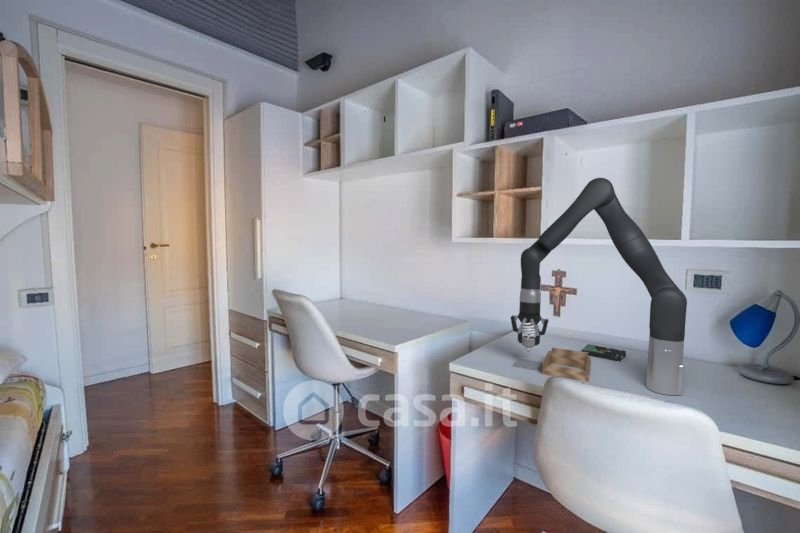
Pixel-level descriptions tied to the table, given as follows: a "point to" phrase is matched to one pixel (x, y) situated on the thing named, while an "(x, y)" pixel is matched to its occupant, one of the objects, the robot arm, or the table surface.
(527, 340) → the light bulb
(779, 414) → the table surface
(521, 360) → the slate mat
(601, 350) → the disk drive
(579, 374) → the wooden frame
